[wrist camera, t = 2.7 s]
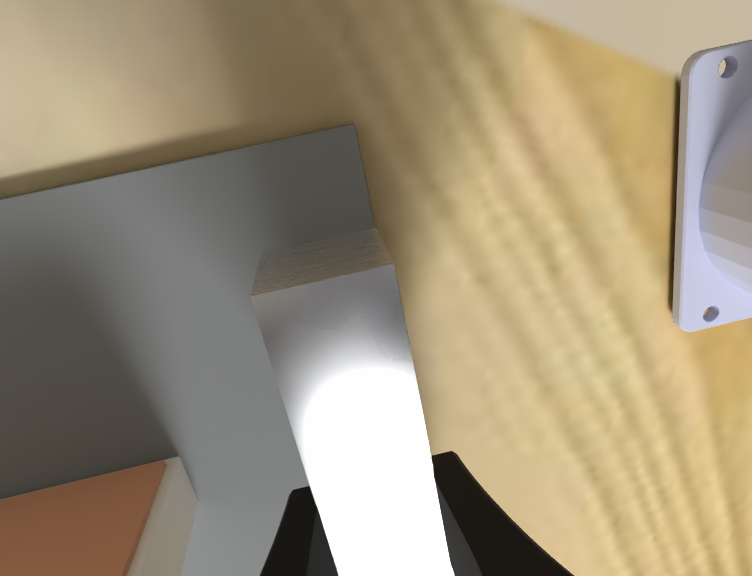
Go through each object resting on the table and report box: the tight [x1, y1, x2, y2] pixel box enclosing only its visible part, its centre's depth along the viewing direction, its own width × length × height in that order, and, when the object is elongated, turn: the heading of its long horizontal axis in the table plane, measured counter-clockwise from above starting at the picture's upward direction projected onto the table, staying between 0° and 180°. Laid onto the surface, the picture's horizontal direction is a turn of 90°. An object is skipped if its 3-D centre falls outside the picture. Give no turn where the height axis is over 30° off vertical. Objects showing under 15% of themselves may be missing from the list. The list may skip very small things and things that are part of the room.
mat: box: [0, 124, 375, 576], centre depth 15 cm, size 16×16×1 cm
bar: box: [250, 227, 454, 576], centre depth 12 cm, size 2×12×2 cm, turn 11°
